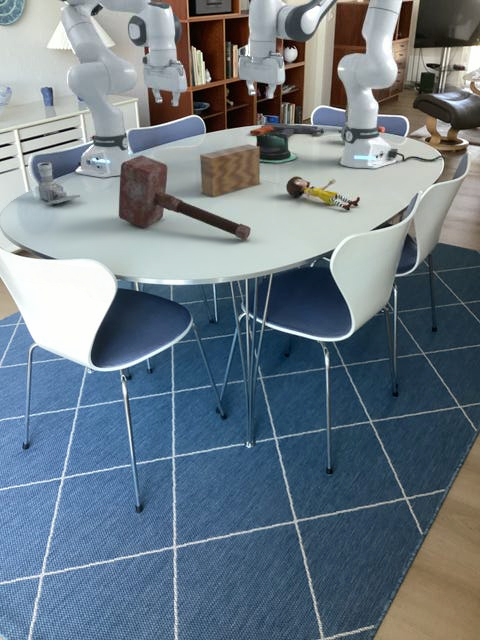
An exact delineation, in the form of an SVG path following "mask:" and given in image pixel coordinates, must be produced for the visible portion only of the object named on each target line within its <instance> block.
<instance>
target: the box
mask: <svg viewBox="0 0 480 640" xmlns="http://www.w3.org/2000/svg"><path fill="white" fill-rule="evenodd" d="M199 157H200V162H199V163H200V176H201V177H200V179H201V193H202V194H203V195H205V196H209V197H212V198H215V197H218V196H221V195H225V194H230V193H232V192H235V191H239V190H243V189H246V188H250V187H254V186H257V185H260V183H261V181H260V180H261V179H260V177H261V175H260V173H261V171H260V168H261V165H260V163H261V161H260V147H258V146H256V145H254V144H249V143H247V144H242V145H238V146H234V147H229V148H225V149H221V150H216V151H212V152H207V153H203V154H199Z"/></svg>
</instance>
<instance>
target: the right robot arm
mask: <svg viewBox="0 0 480 640" xmlns="http://www.w3.org/2000/svg"><path fill="white" fill-rule="evenodd" d="M337 2H338V0H309V1H308V2H306V3H303V4H298V5H292V4H291V5H290V4H288V3H285V2H284V1H282V0H250V2H249V8H248V9H249V10H248V30H249V36H248V39H247V41H248V42H247V44H246V45H244V46H242V47H239V49H238V56H240V57H239V58H238V76H239V79H241V80H244V81H246V86H247V89H248V95H249V96H256V89H255V87H254V84H255V82H256V83H261V84H262V83H263V84H268V91H267V92H265V93H266V97H265V98H266V99H274V93H275V91H276V88H277V86H279V85H280V86H281V85H283V84H284V83H285V81H286V70H285V61H284V57H283V55H282V54H281V52H276V51H277V50H276V48H277V47H276V46H277V38H278V39H280V40H281V39H282V40H288V41H289V40H290V41H294V42H295V41H296V42H299V43H305V42H308V41H309V40H311V39H312V38H313V37H314V35H315V34H316V32H317V30H318V28H319V26H320V24H321V22H322V21H323V19H324V18H325V16H326V15H327V14H328V13H329V12H330V11H331V9H332V8H333V7H334V5H335V4H336V3H337ZM402 4H403V0H369V3H368V7H367V10H366V14H365V18H364V21H363V25H362V29H361V35H362V38H363V39H364V40H365V45H366V47H365V53H359V52H355V53H351V54H346V55H344V56H343V57H342V58H341V59H340V60H339V63H338V65H337V76H338V78H339V80H340V81H341V82H342V85H343V87H344V89H345V90H344V91H345V94H346V97H347V98H346V99H348V122H347V126H346V132H345V137H346V141H344V147H343V152H342V155H341V159H340V162H339V163H340V165H342V166H345V167H348V168H355V169H370V170H371V169H373V170H375V169H379V168H381V167H384V166H388V165H391V164H395V163H397V156H400V157H402V158H401V160H402V162H405V161H408V160H410V159H417V160H420V161H422V162H423V161H424V162H435V161H436V160H438V159H440V158H442V159H443V160H446V156H444V155H438V156H436V157H435V158H432V159H431V158H430V159H429V158H425V157H424V158H423V157H420V156H417V155H416V156H414V155H410V156H408V157H406V158H405V155H404V154H403V153H400V152H398V151H399V149H398V148H392V147H391V145H390V144H389V143H388V142H387V141H386V140H384V138H383V137H381V136H380V133H382V134H383V133H385V131H386V128H385V127H384V126H378V115H379V103H378V101H377V100H376V99H375V96H374V94H373V91H372V90H383V89H387V88H390V87H392V85H394V83H395V82H396V79H397V77H398V70H399V69H398V64H397V62H396V61H395V58H394V56H393V55H394V54H393V39H394V34H395V30H396V26H397V23H398V19H399V16H400V12H401V8H402Z"/></svg>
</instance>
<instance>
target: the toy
mask: <svg viewBox="0 0 480 640" xmlns="http://www.w3.org/2000/svg"><path fill="white" fill-rule="evenodd" d="M346 126H347V122H346V121H345V122H344V123H343V126H342V128H341V129H339V130H338V134H340V137H341V139H342V141H343V142H346V137H345V132H346Z"/></svg>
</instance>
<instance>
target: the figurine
mask: <svg viewBox="0 0 480 640" xmlns="http://www.w3.org/2000/svg"><path fill="white" fill-rule="evenodd" d="M336 182H337V180H336V179H335V178H333V179H330V180H329V182H328V183H327V184H326V185H324V186H323V187H321V188H318V187H315V186H313V185H312V186H310V185H311V182H310V181H308V180H304V179H303V178H302V177H300V176H292V177H291V178H290V179H289V180H288V181H287V183H286V186H285V187H286V192H287V193H288V195H290V196H291V197H302V196H303V195H305V196H306V197H307V198H308V199H309V198H310V197H316V198H319V199H320V200H322V201H323V202H324V203H326V204H328V205H333V204H334V205H335V206H337V207H340V208H342V209H344V210H346V211H350V210H351V206H354V207H358V206H359V204H358V203H359V202H360V201H361V197H359V196H358V197H356V200H351V199H349V198H347V197H345V196H343V195H342V194H339V192H336V191H330V190H326V189H327V188H328V187H329V186H332V185H334V183H336ZM339 200H340V201H342V202H343V203H346V204H343V203H342V202H340V201H339Z"/></svg>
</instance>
